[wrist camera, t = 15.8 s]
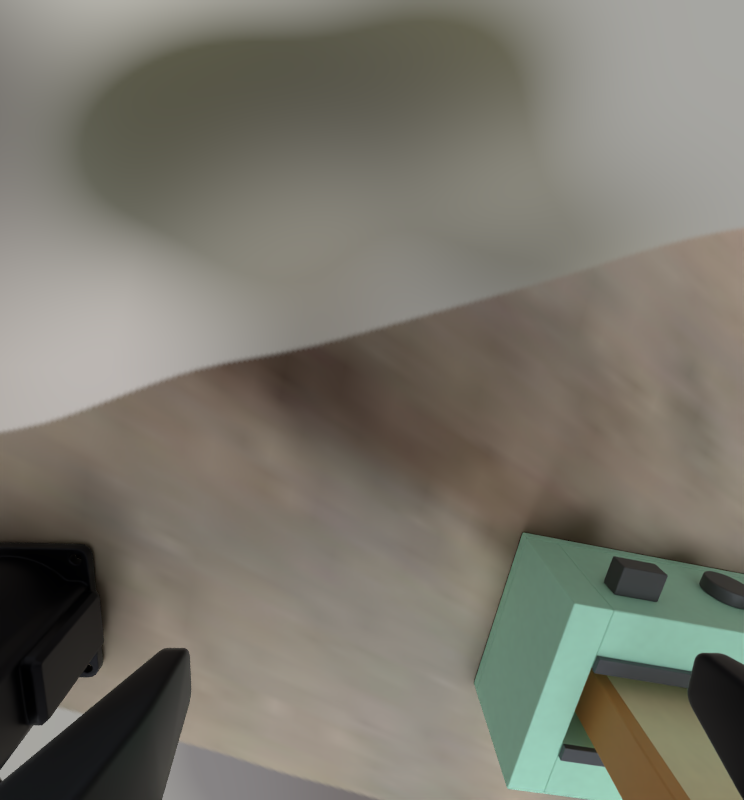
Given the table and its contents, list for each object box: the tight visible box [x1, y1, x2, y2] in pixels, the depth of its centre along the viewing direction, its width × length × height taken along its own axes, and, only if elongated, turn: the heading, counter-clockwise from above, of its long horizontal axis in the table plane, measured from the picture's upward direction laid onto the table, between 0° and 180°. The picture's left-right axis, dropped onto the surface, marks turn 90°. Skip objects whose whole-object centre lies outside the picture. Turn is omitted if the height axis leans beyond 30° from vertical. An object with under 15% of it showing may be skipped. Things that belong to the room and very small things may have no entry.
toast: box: [575, 667, 743, 800], centre depth 17 cm, size 8×2×10 cm, turn 77°
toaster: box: [474, 533, 744, 800], centre depth 20 cm, size 12×10×5 cm
